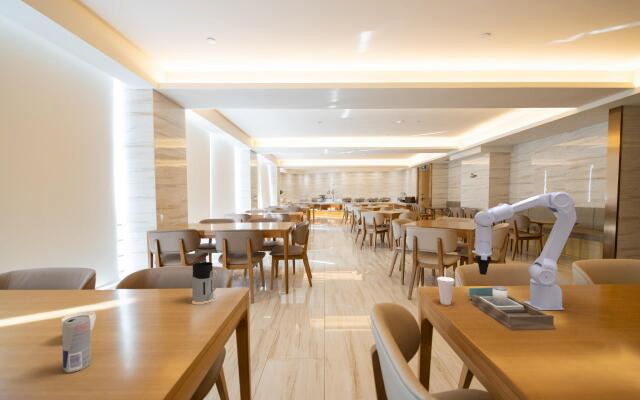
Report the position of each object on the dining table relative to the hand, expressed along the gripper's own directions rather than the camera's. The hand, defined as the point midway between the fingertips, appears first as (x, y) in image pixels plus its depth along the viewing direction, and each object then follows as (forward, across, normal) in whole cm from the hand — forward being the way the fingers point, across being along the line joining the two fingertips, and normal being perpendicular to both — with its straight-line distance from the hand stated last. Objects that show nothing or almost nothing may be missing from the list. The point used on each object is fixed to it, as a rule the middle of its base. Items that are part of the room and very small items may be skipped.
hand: (483, 274), depth 117 cm
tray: (+9, +6, +4) cm, 12 cm away
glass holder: (+11, +52, -99) cm, 112 cm away
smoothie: (+11, +11, -13) cm, 20 cm away
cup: (+11, +90, -110) cm, 142 cm away
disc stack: (+8, +9, +5) cm, 13 cm away
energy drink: (+11, +98, -92) cm, 135 cm away
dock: (+10, +14, +8) cm, 19 cm away
